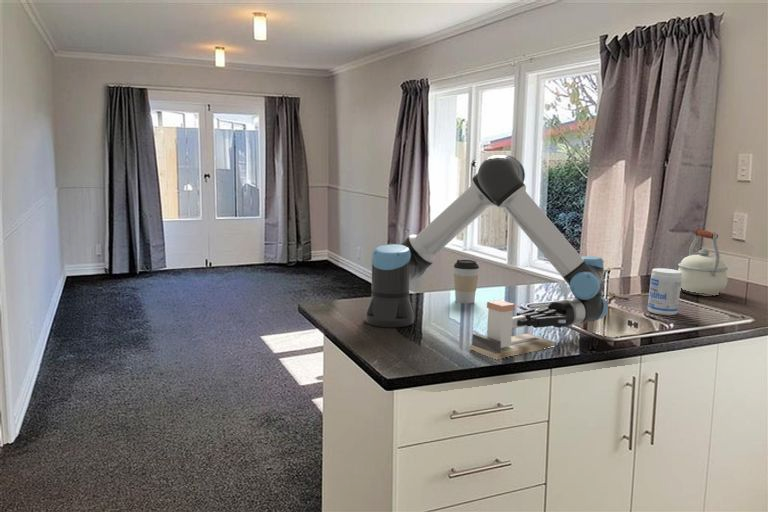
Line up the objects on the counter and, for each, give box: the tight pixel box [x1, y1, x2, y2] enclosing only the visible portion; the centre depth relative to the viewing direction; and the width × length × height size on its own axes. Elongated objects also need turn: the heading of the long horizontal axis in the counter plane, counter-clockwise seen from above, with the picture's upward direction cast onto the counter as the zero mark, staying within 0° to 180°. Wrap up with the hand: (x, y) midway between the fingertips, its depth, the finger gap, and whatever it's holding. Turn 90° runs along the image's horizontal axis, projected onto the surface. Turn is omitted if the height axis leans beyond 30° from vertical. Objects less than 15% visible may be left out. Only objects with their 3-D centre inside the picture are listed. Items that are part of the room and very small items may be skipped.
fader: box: [486, 299, 516, 348], centre depth 168 cm, size 5×6×11 cm
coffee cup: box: [453, 259, 480, 305], centre depth 227 cm, size 9×9×15 cm
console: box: [469, 332, 556, 361], centre depth 172 cm, size 22×10×4 cm, turn 124°
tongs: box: [608, 292, 630, 301], centre depth 242 cm, size 4×13×2 cm, turn 34°
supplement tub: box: [647, 267, 682, 316], centre depth 217 cm, size 10×10×15 cm
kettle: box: [677, 228, 729, 294], centre depth 252 cm, size 25×18×25 cm
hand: (506, 323), depth 169 cm, fingers closed
